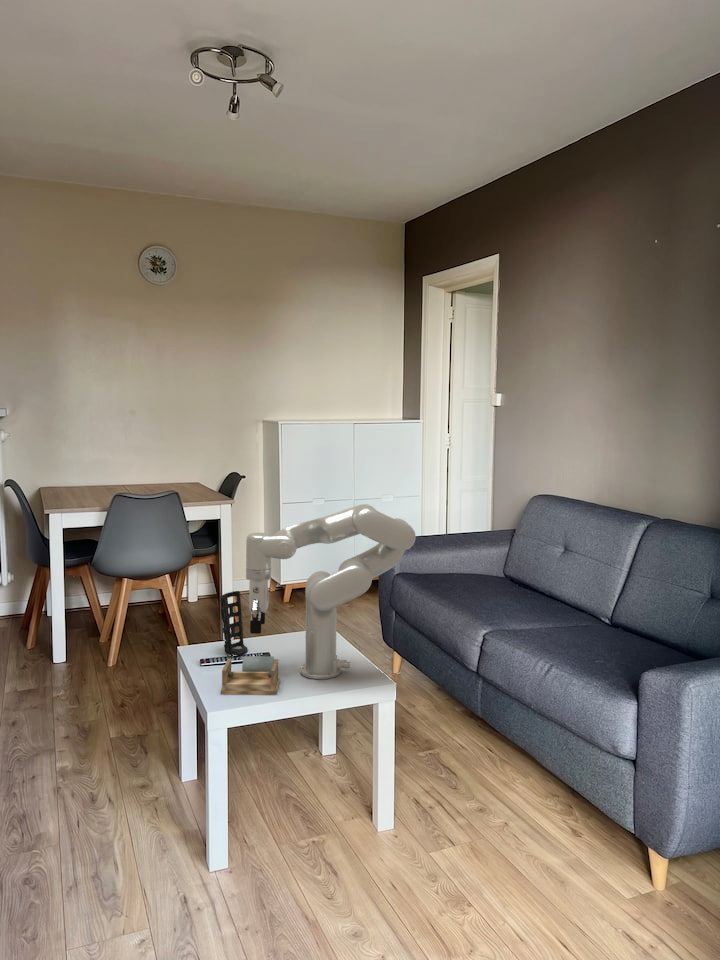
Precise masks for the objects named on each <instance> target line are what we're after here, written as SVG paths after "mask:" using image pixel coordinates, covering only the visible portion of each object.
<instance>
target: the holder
mask: <svg viewBox="0 0 720 960" xmlns="http://www.w3.org/2000/svg"><path fill="white" fill-rule="evenodd" d="M232 597H236V602H231V603H229V601H228V600H229V599H228V598H232ZM219 598H220V599H219V601H220V615H221V620H222V633H223V638H224V645H223V646H224V647H223V648H224V653H225V654H226V655H229V656H230V655H231V656H233V655H239V656H241V655H243V654H245V653H246V652H248V647H247V646H246V645H245V644H244V631H243V630H244V629H243V617H242V614H243V613H242V602H241V601H242V600H241V591H240V590H235V591H231V592H226V593H224V594H222V595H220V596H219ZM234 607H237V611H236V612H235V611H234ZM234 617H237V618H238V621H236V622H233V623H230V618H234ZM236 627H238V632H236ZM236 637H239V641H238V642H233V643H232V639H233V638H236ZM239 647H240V648H239ZM231 656H230V657H231Z"/></svg>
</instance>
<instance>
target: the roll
mask: <svg viewBox="0 0 720 960" xmlns="http://www.w3.org/2000/svg"><path fill="white" fill-rule="evenodd" d="M274 660H275V656H270V655H269V656H268V655H267V656H265V655H263V656H260V655H256V656H255V655H244V656H243V658H242V667H241V670H242V671H241V672H271V670H272V667H273V663H274Z"/></svg>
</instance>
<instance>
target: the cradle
mask: <svg viewBox="0 0 720 960" xmlns="http://www.w3.org/2000/svg"><path fill="white" fill-rule="evenodd" d="M280 680H281V679H280V677H279V659H278V658H274V663H273V667H272V670H271V672H242V671H232V658H227V660H226V662H225V664H224V666H223V668H222V670H221V689H220V691H219V693H220V695H257V696H258V695H259V696H260V695H263V696H264V695H269V696H271V695H273V696H274V695H277V693H278V690H279V686H280Z"/></svg>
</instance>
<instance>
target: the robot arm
mask: <svg viewBox="0 0 720 960" xmlns="http://www.w3.org/2000/svg"><path fill="white" fill-rule="evenodd" d="M358 535H362V536H364V537H365V538H368V539H369V540H372V541H374V542H377V544H376V545H375V546H373V547H371V548H370V549H368V550H365V551H364V552H361V553H360V554H357V555H355V556H352V557H350V558H348V559H346V560H344V561H343V562H342V563H340V565H339V567H338V570H337V571H336V572H334V573H332V574H330V573H329V572H327V571H324V570H322V571H321V570H319V571H316V572H314V573H312V574H311V575H310V576H309V577H308V578H307V580H306V582H305V589H304V590H305V591H304V592H305V664H304V665H302V666H301V667H300V674H301V675H302V676H304V677H305V678H309V679H313V680H314V679H315V680H323V679H324V680H327V679H332V678H335V677H338V676H339V675H340V674H341V673H342V669H351V661H348V660H347V659H339V658H338V655H337V623H338V622H337V618H338V617H337V608H338V607H339V606H341V605H344V604H346V603H348V602H351V600H354V599H357V598H358V597H360V596H362V595H363V594H365V593H366V592H367V591H368V590H369V588H370V587H371V585H372V583H373V582H372V581H373V579H374V578H377V577H378V576H381V575H382V574H384V573H386V572H387V571H389V570H391V569H393V568H394V567H395V566H397V564H398V563H399V562H400V561H401V559H402V558H403V555H404V553H405V552H406V551H407V550H410V549H411V548H412V547H413V546H414V545H415V542H416V532H415V530H414V528H413V527H412V526H411V525H410V524H409V523H408V522H406V520H404V519H402V518H393V517H391V516H388V515H386V514H385V513H382V512H381V511H378V510H377V509H376V508H375V507H374V506H372V505H370V504H366V503H364V504H363V503H362V504H358V505H355V506H352V507H350V508H347V509H343V510H341V511H337V512H334V513H332V514H328V515H325V516H323V517H319V518H315V519H312V520H308V521H303V522H299V523H297V524H293V525H291V526H288V527H285V528H282V529H280V530H278V531H276V532H275V533H274V535H270V534H269V533H267V532H252V533H249V534H247V536H246V540H245V541H246V543H245V544H246V546H245V547H246V549H245V550H246V553H245V580H247V581H249V588H248V589H249V590H248V591H249V592H248V594H249V595H248V596H249V597H248V601H249V602H248V605H249V606H248V607H249V613H250V623H249V625H250V626H249V627H250V629H249V633H250V634H253V635H254V634H255V635H257V634H259V635H260V634H262V625H265V623H266V612H267V610H268V608H269V580H271V579H272V559H279V560H289V559H291V558H292V557H293V556H294V555H295V554H296V551H297V550H298V549H299V548H303V547H307V546H311V545H315V544H323V545H324V544H325V545H327V544H335V543H338V542H340V541H343V540H346V539H348V538H352V537H355V536H358ZM341 668H342V669H341Z"/></svg>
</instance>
